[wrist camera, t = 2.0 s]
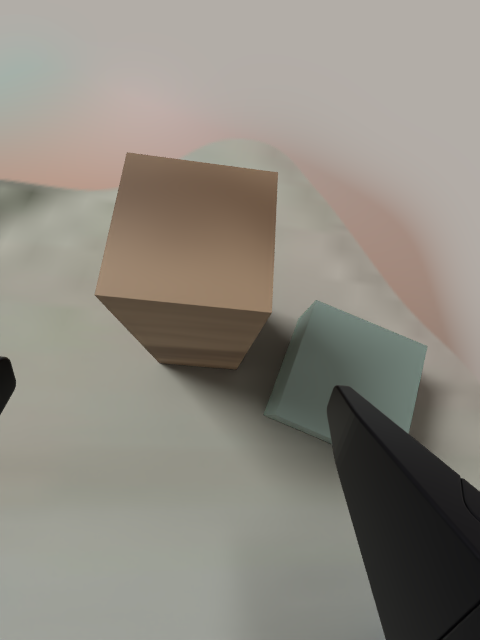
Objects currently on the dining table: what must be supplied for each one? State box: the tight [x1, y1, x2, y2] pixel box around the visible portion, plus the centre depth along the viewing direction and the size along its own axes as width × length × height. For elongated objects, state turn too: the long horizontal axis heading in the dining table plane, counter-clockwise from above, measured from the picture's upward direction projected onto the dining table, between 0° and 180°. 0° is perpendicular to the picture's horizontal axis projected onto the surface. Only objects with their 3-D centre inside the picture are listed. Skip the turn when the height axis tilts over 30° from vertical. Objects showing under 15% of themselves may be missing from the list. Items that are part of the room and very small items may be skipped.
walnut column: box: [95, 153, 278, 370], centre depth 15 cm, size 5×5×12 cm
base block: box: [264, 300, 427, 444], centre depth 19 cm, size 7×7×4 cm
